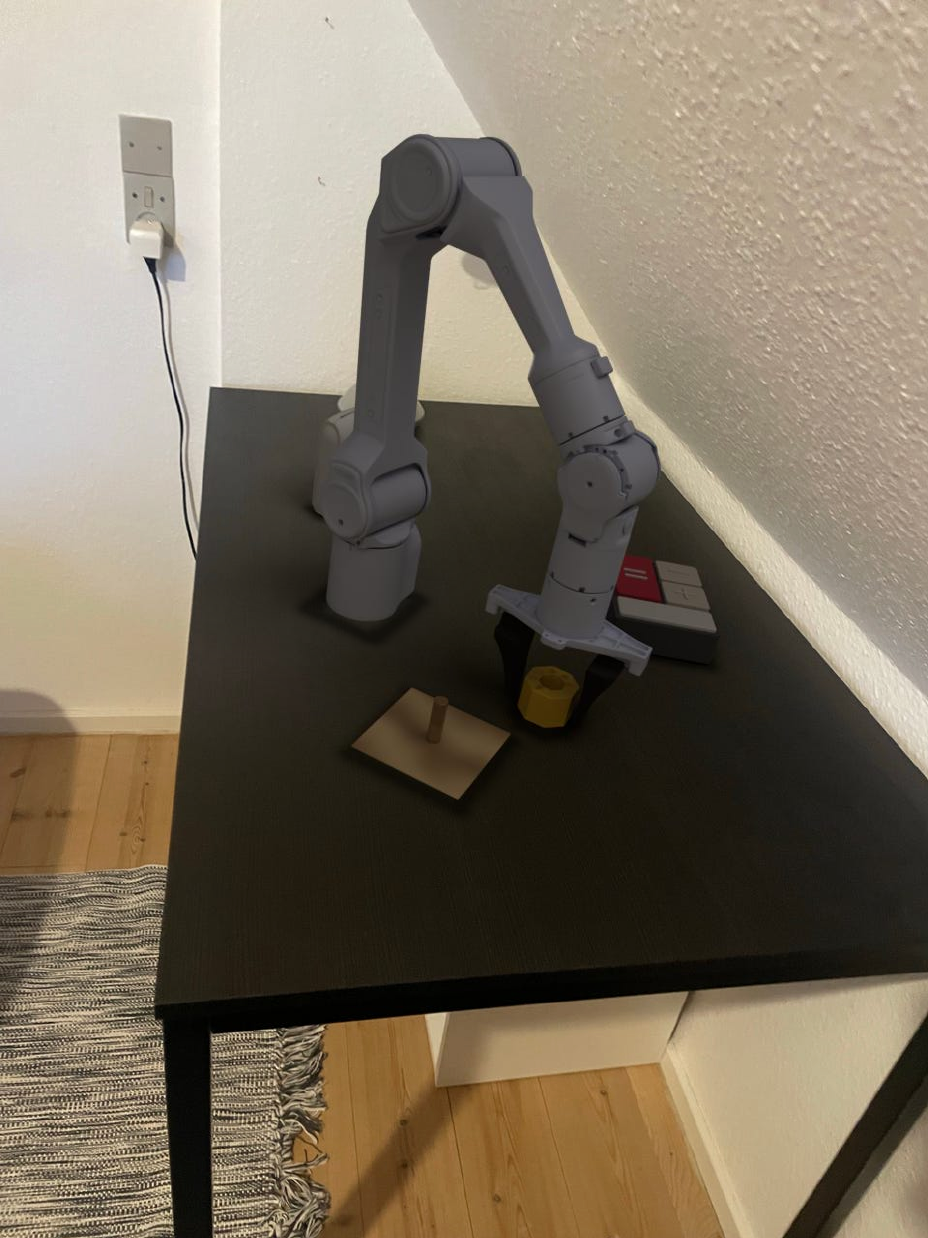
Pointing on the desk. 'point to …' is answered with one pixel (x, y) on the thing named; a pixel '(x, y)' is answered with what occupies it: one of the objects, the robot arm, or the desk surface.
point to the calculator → (664, 609)
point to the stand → (432, 742)
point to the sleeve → (548, 696)
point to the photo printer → (330, 448)
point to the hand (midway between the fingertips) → (545, 704)
